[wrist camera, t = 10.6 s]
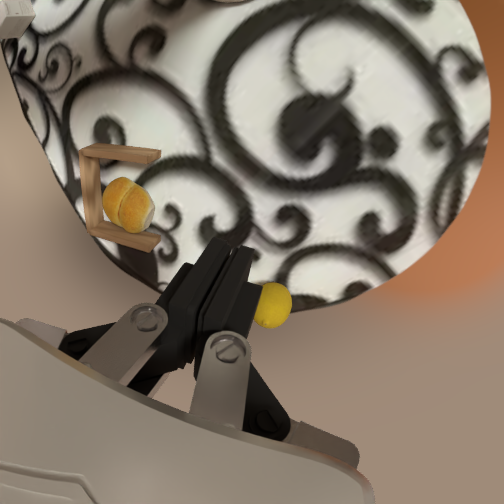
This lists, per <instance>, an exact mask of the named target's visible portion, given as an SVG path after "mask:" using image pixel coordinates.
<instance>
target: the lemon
mask: <svg viewBox="0 0 504 504" xmlns="http://www.w3.org/2000/svg"><path fill="white" fill-rule="evenodd" d="M262 286H263V289H262V293H261V296H260V300H259V303H258V306H257V310H256V313H255V316H254V320H255V322H256V323H257V324H258V325H260V326H262V327H265V328H275V327H278V326H280V325H281V324H282V323H284V322H285V320H286V319H287V317H288V316H289V314H290V311H291V307H292V300H291V295H290V293H289V291H288V290H287V288H285V287H284V286H283V285H281V284H279V283H274V282H271V283H267V284H264V285H262Z"/></svg>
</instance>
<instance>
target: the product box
mask: <svg viewBox="0 0 504 504" xmlns="http://www.w3.org/2000/svg"><path fill="white" fill-rule="evenodd" d="M34 17H35V12H34V10H33V7H32V3H31V0H1V2H0V39H8V38H18V37H21V36H22V34H23V33H24V32H25V30H26V29H27V27H28V26H29V24H30V23H31V21H32V20H33V19H34Z"/></svg>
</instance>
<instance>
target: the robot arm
mask: <svg viewBox="0 0 504 504" xmlns="http://www.w3.org/2000/svg"><path fill="white" fill-rule="evenodd" d="M213 1H218V2H229V3H231V2H241V1H246V0H213ZM254 250H255V249H253V248H249V247H246V246H243V245H241V246H240V248H236V247H235V248H234V249H233V251H232V253H231V255H230V252H231V246H230V245H227V241H226V240H222V239H219V238H216V237H213V238H212V240H211V241H210V243H209V244H208V246H207V247H206V248H205V250H204V251H203V253H202V254H201V256H200V257H199V259H198V260H197V262H196V263H195V264H194V265H193V264H190V263H187V262H186V263H184V264H183V265H182V267H181V268H180V269H179V271H178V272H177V274H176V275H175V276H174V278H173V279H172V281H171V282H170V283H169V285H168V286H167V288H166V289H165V290H164V292H163V293H162V295H161V296H160V297H159V299H158V300H157V302H156V303H155V304H152V303H141V304H138V305H135V306H134V307H132V308H131V309H130V310H128V311H127V313H125V314H124V315H123V316H122V317H121V318H120V319H119V320H118V322H114V323H110V324H106V325H101V326H97V327H92V328H88V329H83V330H78V331H74V332H72V333H67V330H65V329H61V328H58V327H55V326H51V325H48V324H45V323H42V322H39V321H35V320H33V319H28V318H25V319H21V320H19V321H18V322H16V323H14V322H12V321H9V320H6V319H2V318H0V504H375V496H374V491H373V488H372V486H371V483H370V482H369V480H368V479H367V478H366V477H365V476H364V475H363V474H361V473H360V472H359V471H358V470H356V469H357V466H358V463H359V458H360V454H359V451H358V449H357V447H356V446H355V445H354V444H353V443H351V442H350V441H348V440H345V439H342V438H340V437H338V436H335V435H333V434H330V433H328V432H325V431H323V430H321V429H318V428H316V427H314V426H311V425H309V424H307V423H305V422H303V421H300V422H297V421H295V420H293V419H291V418H289V416H288V414H287V412H286V411H285V410H284V408H283V407H282V406H281V404H280V403H279V402H278V400H277V399H276V397H275V396H274V394H273V393H272V392H271V390H270V389H269V388H268V386H267V385H266V383H265V382H264V381H263V379H262V377H261V376H260V375H259V373H258V372H257V370H256V369H255V368H254V366H253V365H252V363H251V362H250V360H251V346H250V344H249V342H248V341H247V340H246V339H247V337H248V334H249V331H250V328H251V324H252V322H253V319H254V316H255V313H256V310H257V306H258V303H259V300H260V296H261V293H262V289H263V286H260V285H257V284H253V283H250V282H247V281H248V276H249V272H250V268H251V264H252V259H253V255H254ZM194 357H195V364H194V377H195V380H196V385H195V389H194V394H193V398H192V402H191V406H190V411H189V413H186V412H184V411H181V410H179V409H176V408H173V407H171V406H169V405H166V404H164V403H161V402H159V401H157V400H154V399H152V398H153V396H154V395H155V393H156V392H157V391H158V390H159V388H160V387H161V386H162V384H163V383H164V381H165V380H166V379H167V377H168V375H169V373H170V372H172V371H174V370H177V369H178V368H181V369H184V367H185V365H186V363H190V364H191V363H192V361H193V359H194Z"/></svg>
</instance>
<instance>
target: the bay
mask: <svg viewBox="0 0 504 504" xmlns="http://www.w3.org/2000/svg"><path fill="white" fill-rule="evenodd" d="M160 157H161V150H157V149H149V148H141V147H133V146H124V145H114V144H103V143H95V144H92V145H90V146H87V147H85V148H82V149H81V150H79V162H80V176H81V187H82V196H83V205H84V213H85V220H86V227H87V233H90V235H93V236H96V237H99V238H102V239H106V240H109V241H112V242H115V243H119V244H122V245H125V246H128V247H132V248H135V249H138V250H142V251H145V252H150V251H151V250H152V249H153V248H154V247H155V246H156V245H157V244H158V243H159V242H160V241H161V236H160V235H157V234H153V233H150V232H146V231H142V232H140V233H135V234H134V233H129V232H127V231H126V230H125V229H124V228H122V227H120V226H118V225H116V224H114V223H112V222H109V221H105V220H104V216H103V206H102V195H101V182H100V164H99V158H107V159H115V160H122V161H129V162H136V163H143V164H148V163H150V162H152V161H154V160H156V159H158V158H160Z"/></svg>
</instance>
